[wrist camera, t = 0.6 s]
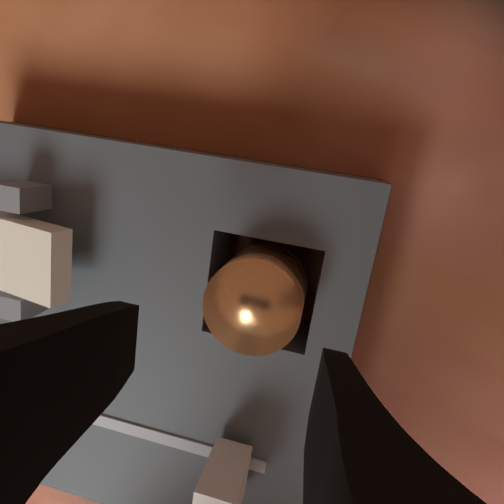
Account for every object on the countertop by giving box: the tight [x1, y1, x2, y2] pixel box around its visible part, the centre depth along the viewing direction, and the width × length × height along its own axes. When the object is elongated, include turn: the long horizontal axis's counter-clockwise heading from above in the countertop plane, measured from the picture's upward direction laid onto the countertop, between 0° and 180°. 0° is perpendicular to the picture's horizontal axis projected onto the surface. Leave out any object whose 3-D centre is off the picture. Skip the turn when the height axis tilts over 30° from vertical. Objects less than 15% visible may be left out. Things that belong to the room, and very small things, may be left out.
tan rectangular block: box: [192, 437, 253, 504], centre depth 16 cm, size 2×2×3 cm
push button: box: [202, 243, 307, 356], centre depth 15 cm, size 4×4×3 cm
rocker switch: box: [0, 211, 73, 308], centre depth 16 cm, size 3×5×1 cm, turn 82°
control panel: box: [0, 121, 392, 504], centre depth 18 cm, size 18×18×5 cm
